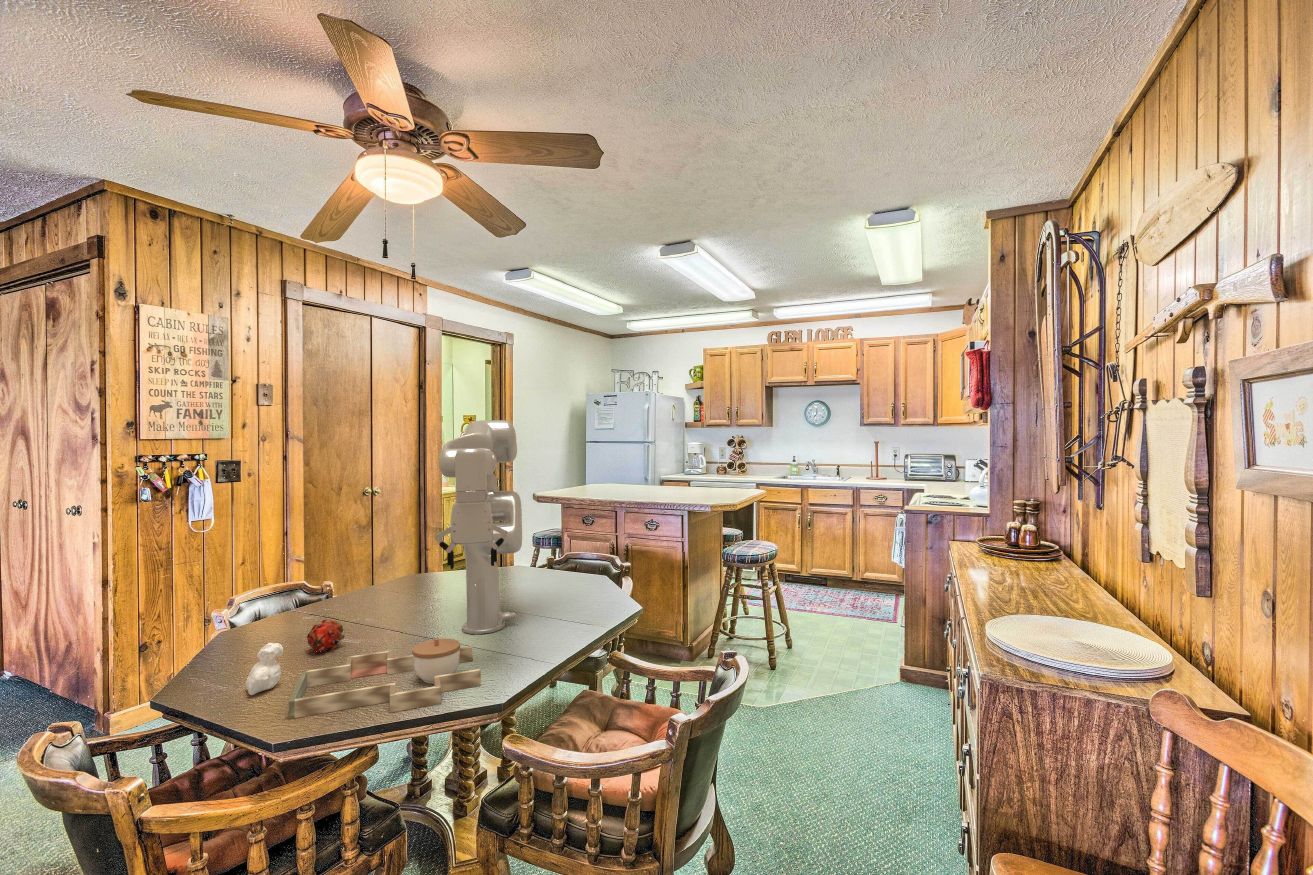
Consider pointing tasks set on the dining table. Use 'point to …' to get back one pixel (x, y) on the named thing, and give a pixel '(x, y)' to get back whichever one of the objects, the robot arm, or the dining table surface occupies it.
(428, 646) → the lidded jar
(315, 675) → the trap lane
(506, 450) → the robot arm
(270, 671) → the duck figurine
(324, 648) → the dragon fruit
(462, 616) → the dining table surface
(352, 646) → the dining table surface
